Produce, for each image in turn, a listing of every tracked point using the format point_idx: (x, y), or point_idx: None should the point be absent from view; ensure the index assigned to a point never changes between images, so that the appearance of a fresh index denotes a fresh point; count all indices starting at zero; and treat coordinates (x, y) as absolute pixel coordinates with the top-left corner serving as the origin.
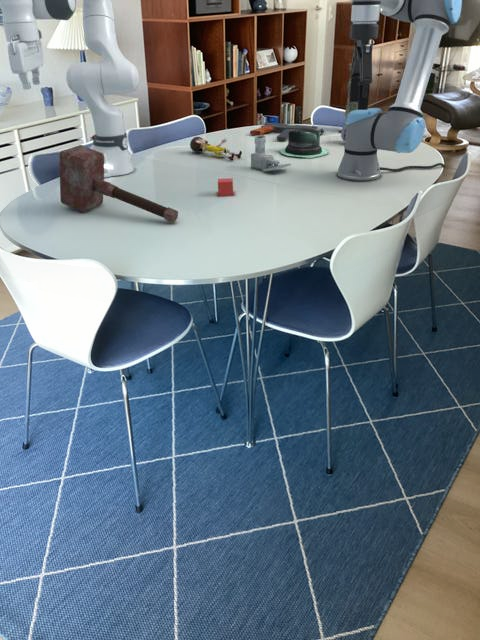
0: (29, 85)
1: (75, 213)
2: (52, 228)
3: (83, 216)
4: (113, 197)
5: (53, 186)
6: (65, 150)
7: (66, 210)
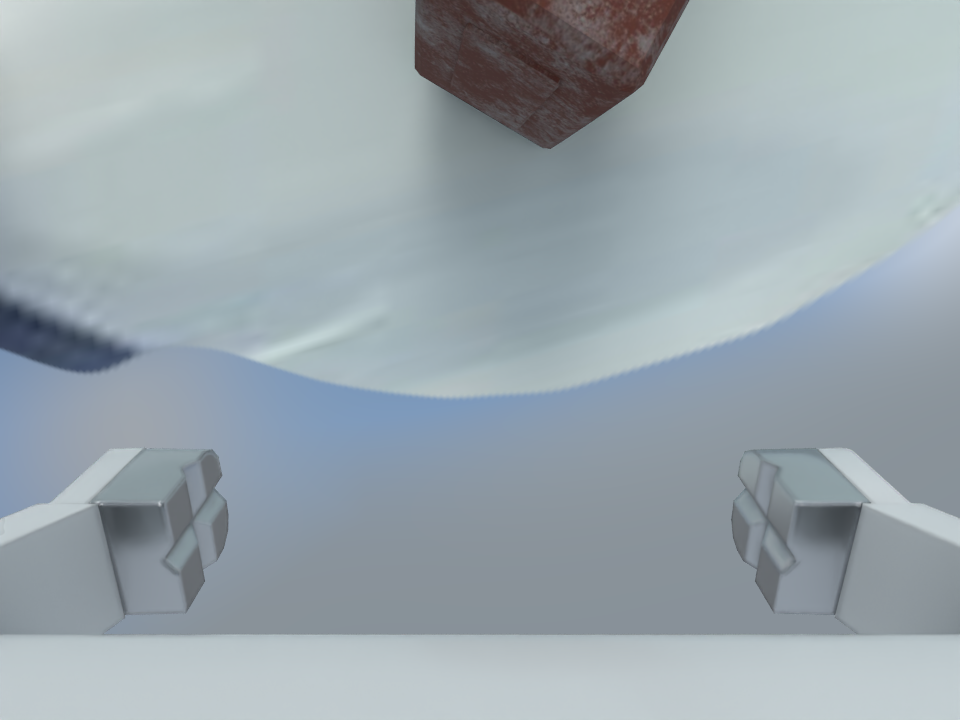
0: (849, 470)
1: None
2: (797, 128)
3: None
4: None
5: (169, 288)
6: (619, 41)
7: None
